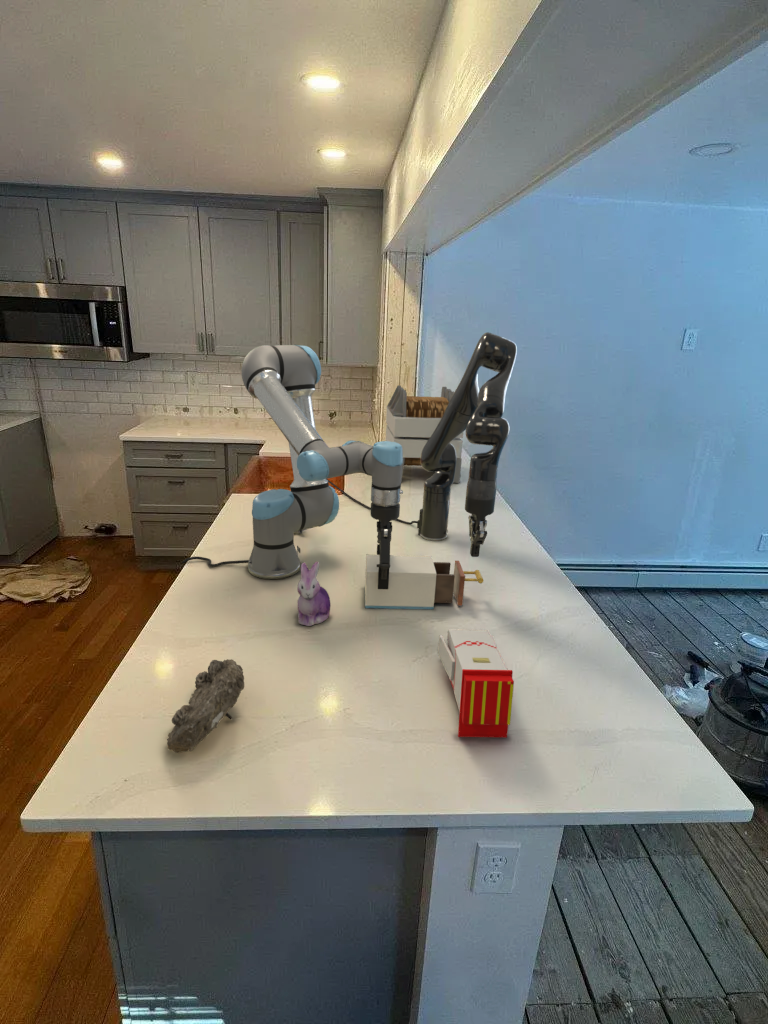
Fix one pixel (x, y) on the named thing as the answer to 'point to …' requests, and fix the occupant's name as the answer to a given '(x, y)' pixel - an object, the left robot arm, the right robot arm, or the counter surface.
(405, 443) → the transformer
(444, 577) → the drawer
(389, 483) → the left robot arm
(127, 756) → the counter surface
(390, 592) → the cabinet
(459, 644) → the toy
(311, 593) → the figurine
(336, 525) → the counter surface
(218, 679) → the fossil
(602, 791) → the counter surface
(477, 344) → the right robot arm
